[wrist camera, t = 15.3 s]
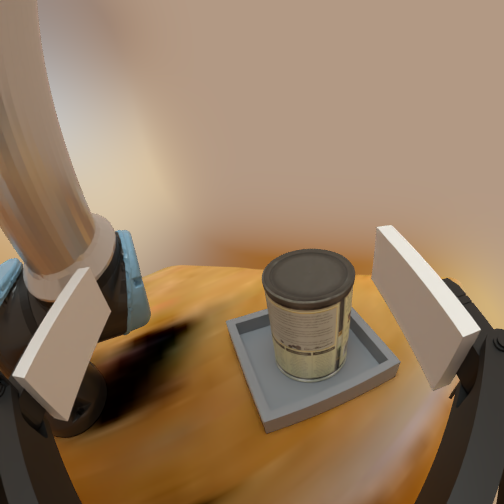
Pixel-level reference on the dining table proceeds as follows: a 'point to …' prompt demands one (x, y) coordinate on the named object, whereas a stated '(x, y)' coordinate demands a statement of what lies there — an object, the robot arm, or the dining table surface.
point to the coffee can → (309, 312)
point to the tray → (306, 393)
